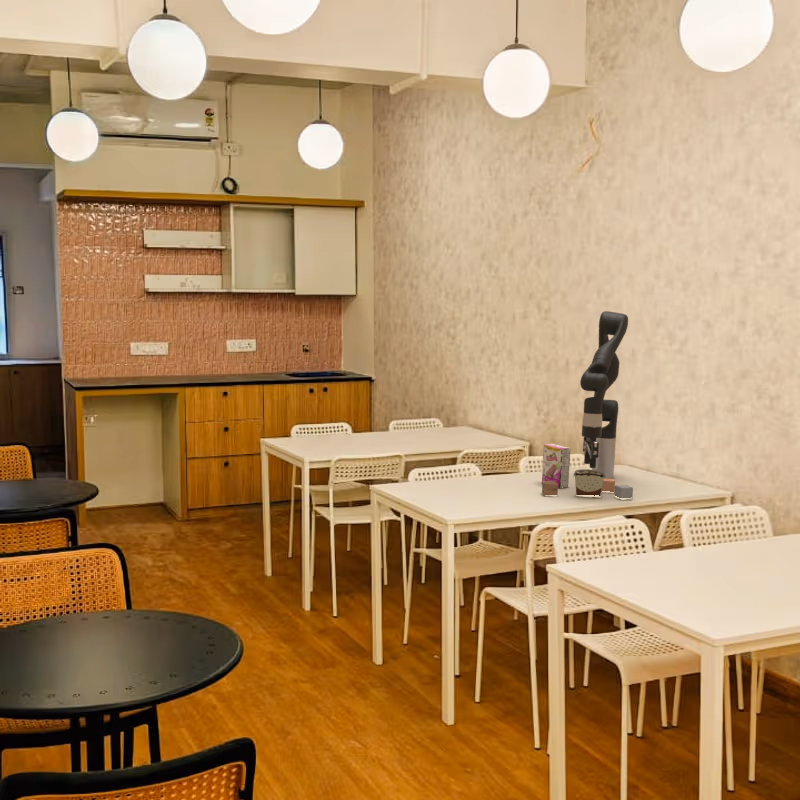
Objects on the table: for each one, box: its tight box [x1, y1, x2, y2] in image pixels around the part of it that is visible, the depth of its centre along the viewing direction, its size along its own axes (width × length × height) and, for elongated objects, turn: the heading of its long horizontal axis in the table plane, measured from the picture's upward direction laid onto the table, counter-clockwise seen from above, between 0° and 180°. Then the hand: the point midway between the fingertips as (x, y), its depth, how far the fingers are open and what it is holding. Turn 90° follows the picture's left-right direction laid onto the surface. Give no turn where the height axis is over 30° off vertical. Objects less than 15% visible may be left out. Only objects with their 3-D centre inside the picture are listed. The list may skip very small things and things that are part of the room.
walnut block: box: [541, 481, 559, 496], centre depth 392 cm, size 5×5×5 cm
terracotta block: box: [602, 478, 616, 492], centre depth 401 cm, size 5×5×5 cm
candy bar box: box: [541, 443, 571, 489], centre depth 409 cm, size 11×5×16 cm, turn 34°
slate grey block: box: [613, 484, 634, 498], centre depth 389 cm, size 5×5×5 cm
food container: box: [572, 468, 605, 497], centre depth 392 cm, size 12×6×10 cm, turn 84°
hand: (589, 465), depth 391 cm, fingers open, 8 cm apart
